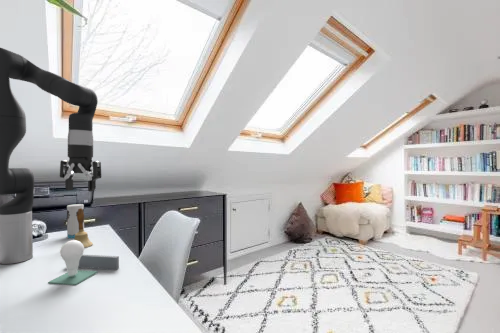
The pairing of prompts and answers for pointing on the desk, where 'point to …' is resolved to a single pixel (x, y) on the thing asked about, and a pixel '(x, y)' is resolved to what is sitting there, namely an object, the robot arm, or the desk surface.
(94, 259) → the wall
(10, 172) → the robot arm
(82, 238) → the hand bell
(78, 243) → the lightbulb
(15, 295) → the desk surface
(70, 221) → the cup
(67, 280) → the pad
